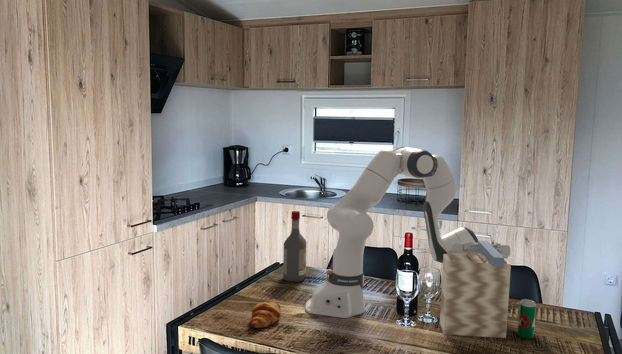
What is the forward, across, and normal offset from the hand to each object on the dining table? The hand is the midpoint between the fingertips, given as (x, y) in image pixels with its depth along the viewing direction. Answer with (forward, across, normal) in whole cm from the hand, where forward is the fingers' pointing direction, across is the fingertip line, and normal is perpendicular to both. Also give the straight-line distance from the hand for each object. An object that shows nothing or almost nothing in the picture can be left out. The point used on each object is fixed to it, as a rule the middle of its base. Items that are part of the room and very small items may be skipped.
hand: (485, 244), depth 176 cm
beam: (+5, 0, +6) cm, 8 cm away
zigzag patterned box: (-5, -5, +29) cm, 30 cm away
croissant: (-4, -75, +30) cm, 81 cm away
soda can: (-4, +12, +30) cm, 32 cm away
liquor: (-44, -72, +6) cm, 85 cm away
